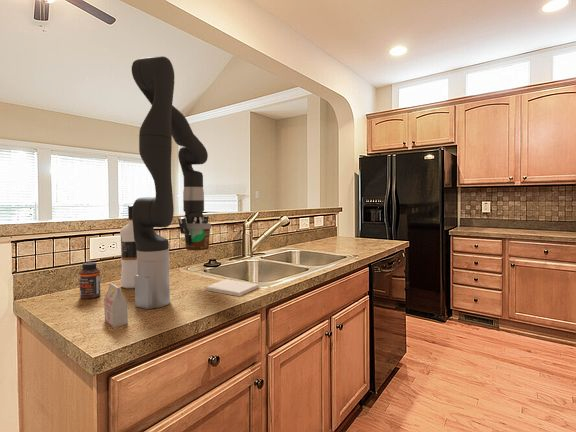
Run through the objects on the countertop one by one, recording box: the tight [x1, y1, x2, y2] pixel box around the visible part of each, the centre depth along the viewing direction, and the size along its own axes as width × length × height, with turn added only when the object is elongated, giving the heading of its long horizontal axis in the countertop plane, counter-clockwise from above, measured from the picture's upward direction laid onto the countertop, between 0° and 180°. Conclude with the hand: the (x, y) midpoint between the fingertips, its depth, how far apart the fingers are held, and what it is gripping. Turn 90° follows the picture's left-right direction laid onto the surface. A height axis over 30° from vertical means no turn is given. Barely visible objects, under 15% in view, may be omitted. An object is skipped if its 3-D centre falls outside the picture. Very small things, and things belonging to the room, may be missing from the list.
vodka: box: [119, 204, 137, 289], centre depth 126 cm, size 9×9×30 cm
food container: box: [183, 222, 212, 251], centre depth 128 cm, size 12×6×10 cm, turn 63°
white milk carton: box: [103, 282, 129, 328], centre depth 91 cm, size 4×7×10 cm, turn 44°
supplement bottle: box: [78, 261, 101, 300], centre depth 113 cm, size 6×6×11 cm
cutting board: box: [204, 278, 260, 297], centre depth 122 cm, size 12×15×1 cm
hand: (194, 243), depth 128 cm, fingers closed on food container, 5 cm apart
